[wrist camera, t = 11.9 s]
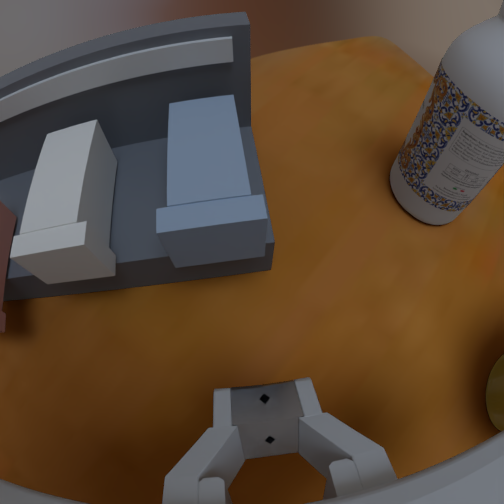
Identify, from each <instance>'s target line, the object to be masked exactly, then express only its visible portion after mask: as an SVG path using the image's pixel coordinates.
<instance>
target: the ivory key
mask: <svg viewBox="0 0 504 504" xmlns="http://www.w3.org/2000/svg"><path fill="white" fill-rule="evenodd" d="M116 168H117V160H116V158H115V156H114V154H113V152H112V150H111V147H110V145H109V143H108V141H107V139H106V137H105V135H104V133H103V131H102V129H101V126H100V124H99V122H98V120H97V119H96V120H92V121H89V122H85V123H82V124H78V125H75V126H71V127H68V128H65V129H61V130H58V131H55V132H52V133H49V134H47V136H46V139H45V141H44V144H43V147H42V150H41V153H40V156H39V159H38V163H37V166H36V169H35V172H34V176H33V179H32V183H31V187H30V190H29V194H28V198H27V202H26V206H25V210H24V215H23V219H22V224H21V229H20V235H17V236H14V238H13V243H12V248H11V254H10V258H11V259H12V260H14V261H15V262H16V263H18V264H19V265H20V266H22V267H23V268H25V269H26V270H27V271H29V272H30V273H32V274H33V275H35V276H36V277H38V278H39V279H40V280H42V281H43V282H45V283H46V284H54V283H62V282H70V281H78V280H86V279H94V278H102V277H110V276H115V267H116V255H115V254H114V253H113V252H112V250H111V249H110V248H109V240H110V225H111V213H112V203H113V193H114V184H115V176H116Z"/></svg>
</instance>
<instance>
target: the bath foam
mask: <svg viewBox="0 0 504 504" xmlns="http://www.w3.org/2000/svg"><path fill="white" fill-rule="evenodd" d="M499 13H500V14H498V15H497V16H495V17H492V18H490V19H488V20H486V21H483V22H482V23H479V24H477V25H475V26H473V27H471V28H470V29H468V30H466V31H465V32H463V33H462V34H461V35H460V36H459V37H457V38H456V39H455V40H454V42H453V43H452V44H451V46H450V47H449V48H448V50H447V51H446V53H445V55H444V57H443V58H442V60H441V62H440V65H439V68H438V70H437V72H436V74H435V77H434V79H433V81H432V83H431V86H430V88H429V90H428V92H427V95H426V97H425V99H424V101H423V104H422V106H421V108H420V110H419V112H418V114H417V116H416V119H415V121H414V123H413V125H412V127H411V129H410V131H409V133H408V135H407V137H406V139H405V141H404V143H403V145H402V147H401V149H400V151H399V154H398V156H397V158H396V160H395V162H394V164H393V166H392V168H391V172H390V184H391V188H392V191H393V193H394V195H395V197H396V199H397V200H398V202H399V203H400V204H401V206H402V207H403V208H404V209H405V210H406V211H408V212H409V213H410V214H411V215H413V216H414V217H415V218H417V219H418V220H420V221H422V222H425V223H428V224H432V225H443V224H447V223H449V222H451V221H453V220H454V219H455V218H456V217H457V216H458V215H459V214H460V213H461V212H462V211H463V210H464V209H465V208H466V207H467V206H468V205H469V204H470V203H471V201H472V200H473V199H474V198H475V197H476V196H477V195H478V194H479V192H480V191H481V190H482V189H483V188H484V187H485V185H486V184H487V183H488V182H489V181H490V180H491V178H492V177H493V176H494V175H495V174H496V172H497V171H498V170H499V169H500V168H501V166H502V165H503V164H504V0H503V3H502V5H501V8H500V12H499Z"/></svg>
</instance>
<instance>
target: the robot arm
mask: <svg viewBox="0 0 504 504" xmlns="http://www.w3.org/2000/svg"><path fill="white" fill-rule="evenodd" d="M296 452H299V454H300V455H301V456H302V457H303V458H304V459H305V460H307V461H308V462H309V463H310V464H311V465H312V466H313V467H314V468H315V469H316V470H318V471H319V472H320V473H321V474H322V475H323V476H324V477H325V478H327V480H326V486H325V491H324V496H323V500H321V501H316V502H311V503H305V504H504V430H503V431H501V432H500V433H498V434H496V435H495V436H493V437H491V438H489V439H487V440H486V441H484V442H482V443H480V444H478V445H476V446H474V447H472V448H470V449H468V450H466V451H464V452H462V453H460V454H458V455H456V456H454V457H452V458H450V459H447V460H445V461H443V462H441V463H438V464H436V465H434V466H431V467H429V468H427V469H424V470H422V471H419V472H416V473H414V474H411V475H408V476H406V477H403V478H400V479H397V477H396V474H395V472H394V470H393V468H392V465H391V463H390V461H389V459H388V457H387V454H386V452H385V450H384V448H383V447H382V446H380V445H378V444H376V443H375V442H373V441H372V440H370V439H368V438H367V437H365V436H363V435H362V434H360V433H359V432H357V431H355V430H354V429H352V428H351V427H349V426H347V425H346V424H344V423H343V422H341V421H340V420H338V419H337V418H335V417H333V416H332V415H330V414H329V413H322V410H321V407H320V404H319V401H318V398H317V395H316V392H315V389H314V386H313V383H312V381H311V379H310V378H309V377H307V378H302V379H296V380H294V381H293V380H290V381H284V382H277V383H270V384H263V385H255V386H244V387H232V388H222V389H215V390H214V398H213V428H208V429H207V430H206V431H205V432H204V434H203V435H202V436H201V437H200V438H199V439H198V440H197V442H196V443H195V444H194V445H193V446H192V447H191V448H190V450H189V451H188V452H187V453H186V454H185V455H184V456H183V458H182V459H181V460H180V461H179V462H178V463H177V464H176V465H175V466H174V468H173V469H172V470H171V471H170V472H169V473H168V474H167V475H166V476H165V482H164V491H163V500H162V504H233V503H232V500H231V497H230V495H229V492H228V488H229V486H230V484H231V483H232V481H233V480H234V478H235V476H236V475H237V473H238V471H239V470H240V468H241V466H242V465H243V463H244V461H245V459H251V458H258V457H266V456H273V455H281V454H289V453H296ZM0 504H89V503H84V502H79V501H75V500H70V499H66V498H61V497H57V496H53V495H50V494H46V493H42V492H39V491H35V490H32V489H29V488H25V487H22V486H19V485H16V484H13V483H10V482H8V481H5V480H2V479H0Z"/></svg>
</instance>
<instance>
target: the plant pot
mask: <svg viewBox="0 0 504 504" xmlns="http://www.w3.org/2000/svg"><path fill="white" fill-rule="evenodd" d="M486 406H487V412H488V415H489V418H490V420H491V422H492V423H493V425H494V426H495V427H496V428H497V429H499V430H500V431H503V430H504V354H503V355H502V356H501V357H500V358H499V359H498V360H497V362H496V363H495V365H494V366H493V368H492V370H491V373H490V375H489V378H488V382H487V388H486Z"/></svg>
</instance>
